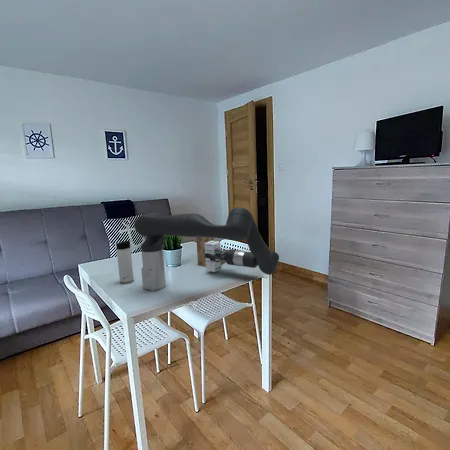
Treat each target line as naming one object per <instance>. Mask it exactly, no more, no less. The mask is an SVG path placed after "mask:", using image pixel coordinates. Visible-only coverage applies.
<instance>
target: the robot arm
mask: <svg viewBox="0 0 450 450" xmlns="http://www.w3.org/2000/svg"><path fill="white" fill-rule="evenodd" d="M227 216H228V217H227V219H226V223H225V224H224V225H223V224H222V225H220V224H213V223H212V222H211V221H209V220H208V219H207V218H205V217H204V216H203V215H201V214H198V213H177V214H171V215H168V216H167V215H166V216H161V215H160V214H159V213H157V212H150V213H145V214H142V215H140V216H138V217H137V218H136V219H135V220H134V223H133V227H134V228H133V229H134V230H135V232H136V233H138V234H139V235H141V236H143V237H146V238H145V240H143V242H142V243H141V245H140V247H141V248H140V249H141V250H140V251H141V259H142V261H141V262H142V267H141V269H140V270H141V281H142V289H143V290H147V291H151V292H154V291H157V290H161V289H163V288H165V287H166V286H167V283H166V272H165V257H164V243H165V236H172V237H184V238H185V237H188V238H196V237H213V238H215V239H220V240H221V239H222V240H230V241H244V240H246V243H247V247H248V249H249V251H245V250H241V249H231V248H230V249H221V253H216V254H208V253H206V254H205V258H210V261H214V262H220V261H219V260H221V261H226V262H225V263H227V265H231V266H235V267H245V268H251V269H253V268H254V269H255V268H257V267H258V269H259V270H260V271H261V272H262V273H263V274H264V275H267V276H270V275H273V274H274V273H275V272H276V270H277V267H278V264H279V263H278V262H279V260H280V255H279V253H278V252H276V251H274V250H271V249H270V247H269V246H268V245H267V243H266V242H265V241H264V239H263V237H262V235H261V233H260V231H259V229H258V226H257V224H256V221H255V219H254V217H253V216H254V215H252V213H251V212H250V211H249V210H248V209H246V208H244V207H242V206H241V207H240V206H239V207H234V208H232V209H231V210H230V211H229V214H228V215H227ZM217 255H218V256H217Z"/></svg>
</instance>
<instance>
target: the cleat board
mask: <svg viewBox="0 0 450 450" xmlns="http://www.w3.org/2000/svg"><path fill="white" fill-rule="evenodd" d="M195 238H196V240H195V241H196V253H197V254H196V255H197V256H196V257H197V266H199V267H200V266H201V267H205V268H206V258H205V243H207V242H210V241H215V240H214V238H213V237H195ZM225 263H227V262H226V261H221V265H223V264H225Z"/></svg>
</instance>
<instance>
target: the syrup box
mask: <svg viewBox="0 0 450 450" xmlns="http://www.w3.org/2000/svg"><path fill="white" fill-rule="evenodd" d="M221 251H222V249H221V242H220V241H217V240H214V241H210V242H207V243H205V254H206V253H208V254H216V253H221ZM217 256H218V255H217ZM219 261H220V262H214V261H210V258H206V267H205V270H206V271H207V272H208V271H209V272H213V273H215V272H218V271H219V270H222V264H221V260H219Z"/></svg>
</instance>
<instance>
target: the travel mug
mask: <svg viewBox="0 0 450 450" xmlns="http://www.w3.org/2000/svg"><path fill="white" fill-rule="evenodd" d="M115 245H116V256H117V266H118V267H117V268H118V276H119V283H120V284H123V285H125V284H126V285H127V284H128V285H129V284H131V283H133V282H134V279H135V278H134V270H133V261H132V260H133V258H132V248H131V241H130V240H125V241H121V242H116V243H115Z"/></svg>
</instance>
